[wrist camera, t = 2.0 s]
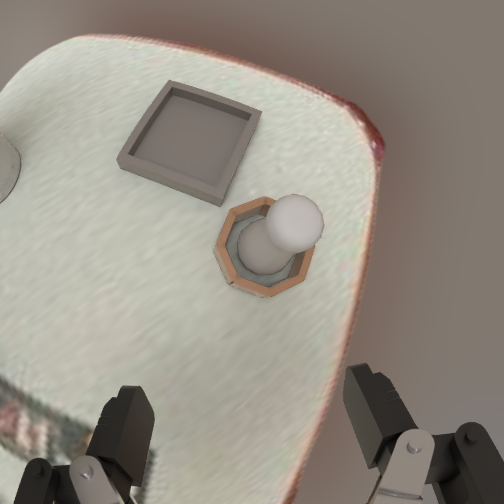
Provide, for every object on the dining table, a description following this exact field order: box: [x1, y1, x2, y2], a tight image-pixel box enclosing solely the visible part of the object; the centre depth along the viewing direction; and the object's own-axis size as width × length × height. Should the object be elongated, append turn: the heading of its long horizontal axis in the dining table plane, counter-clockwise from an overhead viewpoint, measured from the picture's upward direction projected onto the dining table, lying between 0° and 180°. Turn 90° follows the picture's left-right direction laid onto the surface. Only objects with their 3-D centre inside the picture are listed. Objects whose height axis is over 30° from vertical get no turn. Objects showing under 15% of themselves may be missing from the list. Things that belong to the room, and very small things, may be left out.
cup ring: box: [214, 196, 315, 298], centre depth 31 cm, size 10×10×4 cm
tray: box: [116, 80, 262, 207], centre depth 32 cm, size 13×13×2 cm
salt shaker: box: [237, 194, 324, 275], centre depth 26 cm, size 6×6×13 cm
